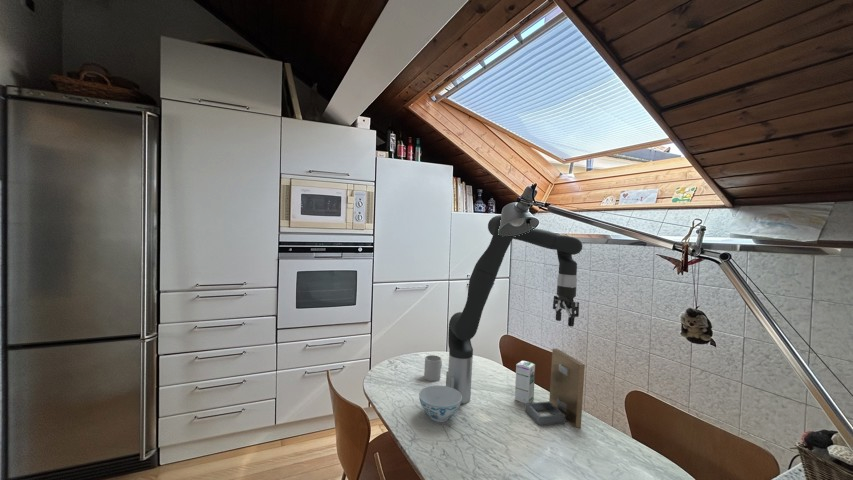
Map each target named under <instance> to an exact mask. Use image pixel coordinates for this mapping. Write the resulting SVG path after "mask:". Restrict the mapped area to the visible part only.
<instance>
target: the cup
mask: <svg viewBox="0 0 853 480" xmlns="http://www.w3.org/2000/svg"><path fill="white" fill-rule="evenodd" d="M442 366H443V363H442V357H441V356H439V355H435V354H434V355H433V354H432V355H431V354H429V355H426V356H425V357H424V372H423V374H424V376H423V377H424V379H425V380H426V381H429V382H437V381H440V379H441V376H442V375H441V371H442Z"/></svg>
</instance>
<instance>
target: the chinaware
mask: <svg viewBox="0 0 853 480" xmlns="http://www.w3.org/2000/svg"><path fill="white" fill-rule="evenodd" d="M418 397H419V403H420V406H421V408H422V409H423V411H424V413H426V414H427V416H429V419H430V420H432V421H433V422H437V423H443V422H446V421H448V420H449V419H450V417H452V416H453V415H454V414H456V412H457V411H458V410H459V408H460V405H461V404H460V403H461V400H462V396H461V394H460V393H459V392H458V391H457V390H455V389H453V388H450V387H447V386H446V385H428V386H425V387H423V388H422V389H420V390H419V392H418Z"/></svg>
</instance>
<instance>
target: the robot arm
mask: <svg viewBox="0 0 853 480" xmlns="http://www.w3.org/2000/svg"><path fill="white" fill-rule="evenodd" d="M501 215H502V214H500V215H499V214H498V215H495V216H492V217H491V219H489V221H488V222H487V223H488V224H487V230H488V232H489V234H491V235H492V237H491V239H490V242H489V244H488V246H487V248H486V250H485V251H484V252H483V253H482V254H481V256H480V257H479V259H477V262H476V263H475V265H474V268H473V270H472V272H471V274H470V277H469V279H468V280H469V281H468V289H467V297H466V301H465V302H466V303H465V305H464V308H463V310H462V311H459V312H456V313H453V314H452V316H451V317H450V319H449V323H448V331H447V332H448V340H447V343H448V349H449V350H448V353H449V354H448V368H447V370H448V371H446V377H445V378H446V379H445V386H447V387H450V388H453V389H455V390H457V391H458V392H459V393H460V394H461V396H462V400H461V403H460V405H462V404H463V405H464V404H468V403H469V402H470V401H471V396H472V395H471V393H472V392H471V391H472V376H473V358H474V349H473V345H472V341H471V340H472V339H473V338H474V337H475V335H477V331H478V329H479V325H480V321H481V318H482V315H483V311H484V308H485V305H486V304H487V301H488V297H489V296H490V293H491V290H492V288H493V286H494V283H495V281H496V278H497V276H498V274H499V271H500V268H501V266H502V263H503V260H504V258H505V255H506V253H507V251H508V248H509V246H510V245H511V242H512V241H513V240H517V241H522V242H525V243H529V244H531V245H534V246H537V247H540V248H545V249H548V250H556V253H557V260H558V276H557V283H556V295H554V296H553V300H552V301H553V302H552V309H553V310H554V311H555V321H557V322H560V321H562V314H563V313H562V311H563V310H565V312H566V314H567V316H568V318H567V319H568V321H567V326H568V327H570V328H571V327H574V325H575V318H579V316H580V302H579V301H574V298H576V297H577V283H578V279H577V274H578V264H577V262H576V261H575V260H574V259H573V256H574V255H578V254H579V253H580V252H582V250H583V243H582V241H581V240H580V239H579V238H576V237H574V236H570V235H563V234H559V233H555V232H553V231H550V230H547V229H542V228H538V227H534V228H535V229H534V230H532V231H530V232H529V233H526V234H523V235H520V236H516V237H502V236H500V235H498V229H499V226H500V220H501Z"/></svg>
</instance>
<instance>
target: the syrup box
mask: <svg viewBox="0 0 853 480" xmlns="http://www.w3.org/2000/svg"><path fill="white" fill-rule="evenodd" d="M515 366H516V367H515V384H514V385H515V387H514V389H515V391H514V400H515V401H518V402H520V403H522V404H525V405H526V403H532V402H533V400H534V399H535V398H534V397H535V378H536V377H535V376H536V375H535V374H536V372H535V371H536V364H535V363H533V362H531V361H527V360H521V361H519V362H518V363H516V364H515Z"/></svg>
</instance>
